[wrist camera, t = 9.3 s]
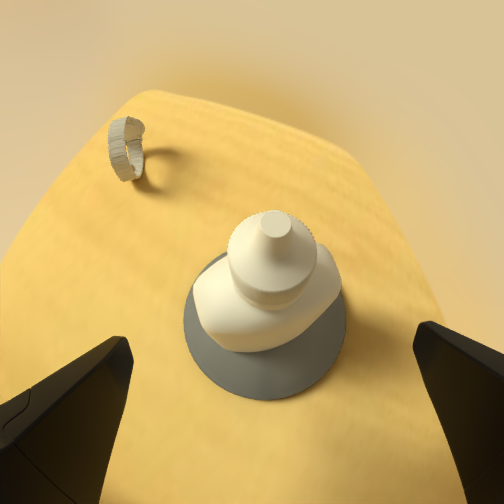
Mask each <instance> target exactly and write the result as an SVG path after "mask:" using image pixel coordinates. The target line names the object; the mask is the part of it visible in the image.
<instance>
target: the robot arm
mask: <svg viewBox="0 0 504 504" xmlns="http://www.w3.org/2000/svg"><path fill="white" fill-rule="evenodd" d="M413 351H414V354H415V357H416V360H417V363H418V366H419V369H420V372H421V375H422V378H423V381H424V384H425V387H426V389H427V392H428V394H429V397H430V399H431V401H432V404H433V406H434V408H435V411H436V413H437V416H438V418H439V421H440V423H441V426H442V428H443V431H444V433H445V436H446V439H447V441H448V444H449V447H450V450H451V452H452V455H453V458H454V461H455V464H456V467H457V470H458V473H459V476H460V479H461V482H462V486H463V489H465V490H464V493H465V496H466V500H467V503H468V504H504V354H502V353H500V352H498V351H496V350H494V349H492V348H489V347H487V346H485V345H483V344H481V343H478V342H476V341H474V340H472V339H470V338H468V337H465V336H463V335H461V334H459V333H457V332H455V331H452V330H450V329H448V328H446V327H444V326H442V325H439V324H437V323H435V322H433V321H426V322H421V323H420V324H419V325H418V328H417V331H416V335H415V338H414V341H413ZM133 364H134V360H133V355H132V352H131V349H130V346H129V343H128V340H127V338H126V337H123V336H113V337H111V338H109V339H108V340H106V341H104V342H103V343H101V344H100V345H98V346H96V347H95V348H93V349H92V350H90V351H88V352H87V353H85V354H83V355H82V356H80V357H79V358H77V359H75V360H74V361H72V362H71V363H69V364H67V365H66V366H64V367H63V368H61V369H59V370H58V371H56V372H55V373H53V374H51V375H50V376H48V377H47V378H45V379H43V380H42V381H40V382H39V383H37V384H35V385H34V386H32V387H31V388H29V389H27V390H26V391H24V392H23V393H21V394H19V395H18V396H16V397H14V398H12V399H11V400H9V401H7V402H5V403H3V404H2V405H0V504H99V500H100V496H101V492H102V487H103V483H104V479H105V475H106V471H107V468H108V464H109V460H110V456H111V453H112V449H113V445H114V442H115V438H116V435H117V431H118V428H119V425H120V421H121V418H122V415H123V412H124V408H125V404H126V400H127V394H128V389H129V384H130V379H131V374H132V369H133Z"/></svg>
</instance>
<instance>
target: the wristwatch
mask: <svg viewBox="0 0 504 504" xmlns="http://www.w3.org/2000/svg"><path fill="white" fill-rule="evenodd" d="M144 131H145V127H144V124H143V123H142V122H141V121H140V120H138V119H135V118H133V117H129V116H128V117H124V118H121V119H117V120H114V121H112V122H111V124H110V127H109V132H108V144H109V146H108V148H109V157H110V161H111V165H112V167H113V169H114V171H115V173H116V174H117V176H118V177H119V178H120V180H121V181H123V182H125V181H129V180H134V179H138V178H140V177H141V175H142V172H143V166H144V165H143V164H144V158H143V157H144V156H143V151H142V150H143V148H142V144H141V143H142V142H141V141H142V135H143V133H144ZM138 138H140V139H138ZM127 141H128V142H127ZM126 145H127V147H128V154H129V160H128V157H127V152H126ZM138 146H139V147H138ZM134 147H135V148H134ZM130 148H131V149H130ZM133 150H134V151H133Z"/></svg>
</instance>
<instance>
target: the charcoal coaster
mask: <svg viewBox="0 0 504 504" xmlns="http://www.w3.org/2000/svg"><path fill="white" fill-rule="evenodd" d="M225 256H227V252H225V253H223V254H221V255H220V256H218V257H217V258H215V259H214V260H213V261H212V262H211V263H209V264H208V265H207V266H206V267H205V268H204V270H203V271H202V272H201V273H200V274H199V276H200V275H201V274H202V273H203V272H205V271H206V270H207V269H208V268H209V267H210V266H212V265H213V264H214V263H216V262H217V261H219V260H220V259H222V258H223V257H225ZM199 276H198V277H199ZM198 277H197V278H198ZM196 280H197V279H196ZM196 280H195V282H196ZM195 282H194V283H195ZM194 283H193V285H194ZM193 285H192V287H191V289H190V292H189V294H188V297H187V300H186V305H185V309H184V332H185V338H186V342H187V345H188V348H189V351H190V353H191V355H192V357H193V359H194V361H195V362H196V364H197V365H198V366H199V368H200V369H201V370H202V372H203V373H204V374H205V375H206V376H207V377H208V378H209V379H210V380H212V381H213V382H214V383H215V384H216V385H218V386H220V387H221V388H223V389H224V390H226V391H228V392H231V393H233V394H235V395H238V396H242V397H245V398H250V399H257V400H272V399H280V398H284V397H288V396H292V395H294V394H296V393H299V392H301V391H303V390H305V389H307V388H308V387H310V386H312V385H313V384H314V383H315V382H317V381H318V380H319V379H320V378H321V377H322V376H323V375H324V374H325V373H326V372H327V371H328V370H329V368H330V367H331V366H332V364H333V363H334V361H335V360H336V358H337V356H338V354H339V352H340V349H341V346H342V344H343V340H344V335H345V328H346V313H345V307H344V302H343V299H342V296H341V293H340V292H339V294H338V296H337V298H336V299H335V300H334V301H333V302H332V303H331V305H330V306H329V307H328V308H327V309H326V310H325V311H324V312H323V313H322V314H321V315H320V316H319V317H318V318H317V319H316V320H315V321H314V322H313V323H312V324H311V325H310V326H309V327H308V328H307V329H306V330H305V331H304V332H302V333H301V334H300V335H298V336H297V337H295V338H294V339H292V340H290V341H289V342H287V343H285V344H283V345H280V346H278V347H275V348H272V349H268V350H264V351H258V352H233V351H228V350H226V349H224V348H223V347H222V346H220V345H219V344H218V343H217V342H216V341H215V340H213V339H212V338H211V337H210V336H209V335H208V334H207V333H206V331H205V330H204V328H203V327H202V325H201V323H200V320H199V317H198V313H197V309H196V305H195V301H194V296H193Z"/></svg>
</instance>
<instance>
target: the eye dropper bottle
mask: <svg viewBox="0 0 504 504" xmlns="http://www.w3.org/2000/svg"><path fill="white" fill-rule="evenodd" d="M233 231H234V232H233V233H232V234H231V237H230V241H229V242H228V244H229V245H228V246H227V248H228V250H227V256H225V257H223V258H222V259H220V260H219V261H217V262H216V263H214V264H213V265H212V266H210V267H209V268H208V269H207V270H206V271H205V272H203V273H202V274H201V275H200V276H199V277H198V278H197V280H196V282H195V283H194V285H193V296H194V301H195V305H196V309H197V313H198V317H199V320H200V323H201V325H202V327H203V328H204V330H205V331H206V333H207V334H208V335H209V336H210V337H211V338H212V339H213V340H215V341H216V342H217V343H218V344H219V345H220V346H222V347H223V348H224V349H226V350H228V351H233V352H258V351H264V350H268V349H272V348H275V347H278V346H280V345H283V344H285V343H287V342H289V341H290V340H292V339H294V338H295V337H297V336H298V335H300V334H301V333H302V332H304V331H305V330H306V329H307V328H308V327H309V326H310V325H311V324H312V323H313V322H314V321H315V320H316V319H317V318H318V317H319V316H320V315H321V314H322V313H323V312H324V311H325V310H326V309H327V308H328V307H329V306H330V305H331V303H332V302H333V301H334V300H335V299H336V298H337V296H338V294H339V292H340V290H341V287H342V285H341V277H340V274H339V271H338V268H337V266H336V263H335V261H334V259H333V257H332V255H331V253H330V251H329V250H328V249H327V248H326V247H325V246H324V245H322V244H320V243H317V242H316V241H315V240H314V237H313V236H312V233H311V232H310V230H309V229H308V228H307V226H305V225H304V223H302V222H301V221H300V220H298V219H297V218H295V217H293V216H291V215H289V214H286V213H284V212H282V211H280V210H271V211H266V212H261V213H257V214H254V215H253V216H250V217H249V218H246V220H243V221H242V223H240V224H239V226H237V227H236V229H235V230H233Z"/></svg>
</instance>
